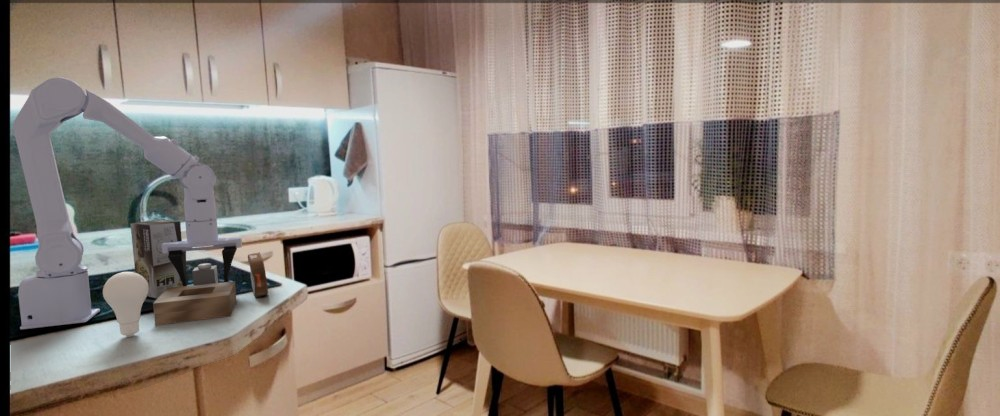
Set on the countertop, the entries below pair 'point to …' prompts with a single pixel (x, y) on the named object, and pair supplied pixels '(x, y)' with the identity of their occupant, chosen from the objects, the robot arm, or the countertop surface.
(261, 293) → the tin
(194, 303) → the holder
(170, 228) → the coffee box
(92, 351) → the countertop surface
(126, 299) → the lightbulb
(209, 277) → the plug
